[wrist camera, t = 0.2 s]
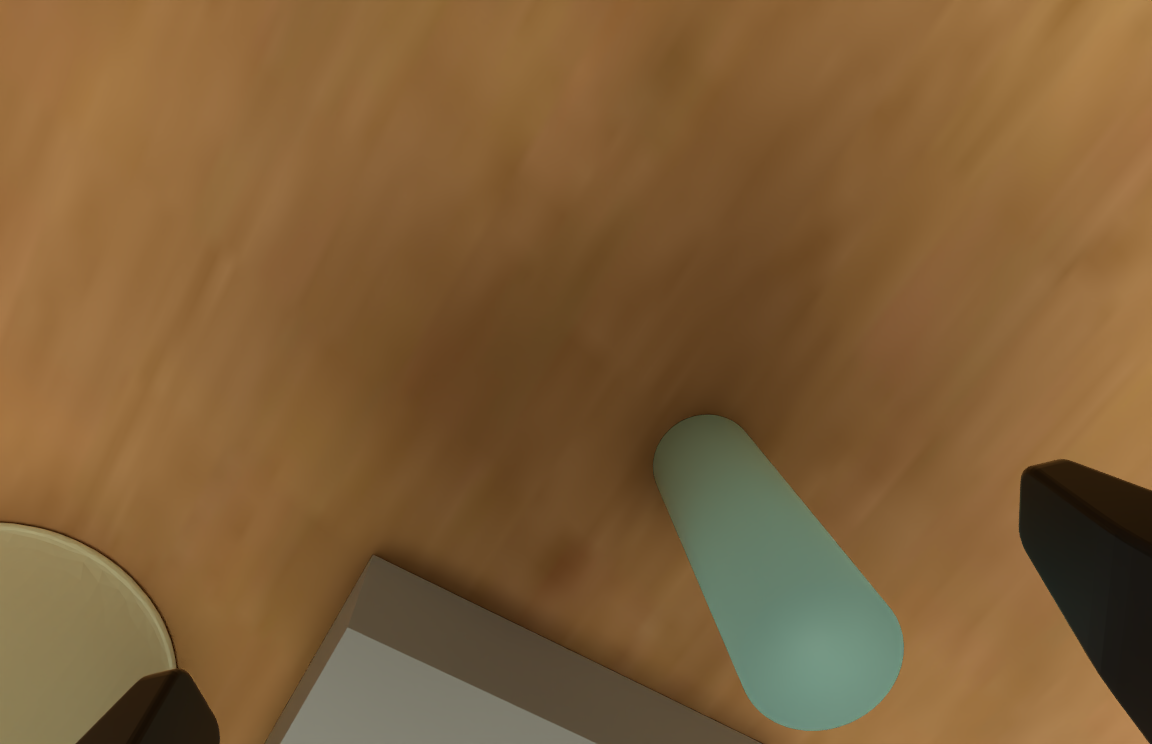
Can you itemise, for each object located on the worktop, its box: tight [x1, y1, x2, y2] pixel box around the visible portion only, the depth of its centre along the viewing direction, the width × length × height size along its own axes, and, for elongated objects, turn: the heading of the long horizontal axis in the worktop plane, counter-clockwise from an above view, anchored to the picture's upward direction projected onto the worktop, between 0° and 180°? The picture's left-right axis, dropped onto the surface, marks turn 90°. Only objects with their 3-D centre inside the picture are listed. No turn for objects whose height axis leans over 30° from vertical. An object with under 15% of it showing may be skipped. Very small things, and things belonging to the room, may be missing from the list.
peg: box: [653, 415, 904, 731], centre depth 21 cm, size 3×3×10 cm
